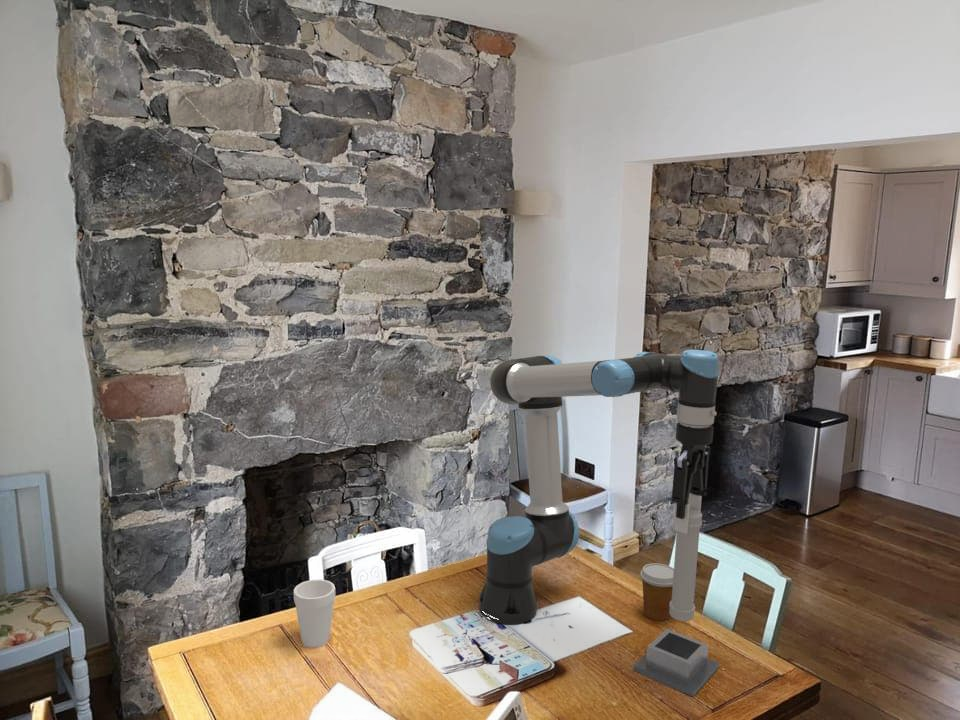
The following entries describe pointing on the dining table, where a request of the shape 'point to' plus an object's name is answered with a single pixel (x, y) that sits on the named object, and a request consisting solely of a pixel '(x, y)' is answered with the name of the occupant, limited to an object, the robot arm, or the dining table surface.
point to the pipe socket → (677, 662)
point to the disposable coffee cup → (657, 590)
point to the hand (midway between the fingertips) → (686, 527)
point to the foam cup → (314, 611)
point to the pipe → (685, 569)
